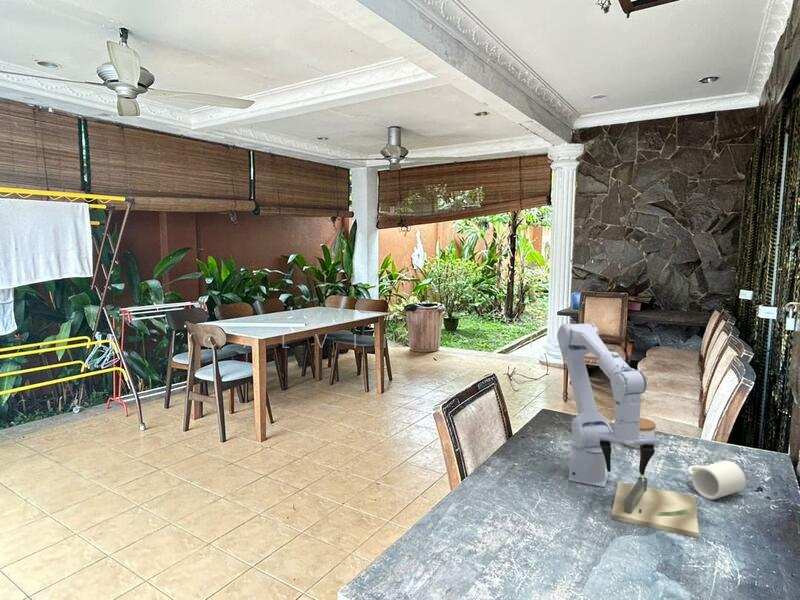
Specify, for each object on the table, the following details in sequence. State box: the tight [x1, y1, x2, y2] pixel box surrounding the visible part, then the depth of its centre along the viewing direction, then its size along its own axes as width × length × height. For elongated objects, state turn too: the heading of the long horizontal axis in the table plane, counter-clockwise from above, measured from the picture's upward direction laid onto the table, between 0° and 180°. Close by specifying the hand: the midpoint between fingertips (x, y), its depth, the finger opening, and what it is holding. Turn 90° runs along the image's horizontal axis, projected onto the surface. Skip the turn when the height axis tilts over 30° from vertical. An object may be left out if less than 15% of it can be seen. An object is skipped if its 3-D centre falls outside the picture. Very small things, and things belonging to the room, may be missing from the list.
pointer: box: [624, 474, 648, 513], centre depth 129 cm, size 2×16×3 cm, turn 143°
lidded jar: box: [627, 417, 657, 449], centre depth 167 cm, size 11×11×9 cm
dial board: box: [611, 481, 700, 539], centre depth 126 cm, size 18×19×1 cm
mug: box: [686, 460, 747, 501], centre depth 136 cm, size 12×10×8 cm
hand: (624, 471), depth 128 cm, fingers open, 7 cm apart
